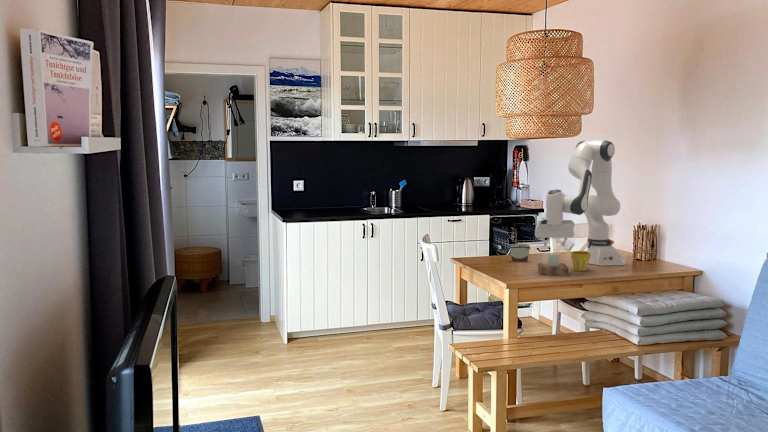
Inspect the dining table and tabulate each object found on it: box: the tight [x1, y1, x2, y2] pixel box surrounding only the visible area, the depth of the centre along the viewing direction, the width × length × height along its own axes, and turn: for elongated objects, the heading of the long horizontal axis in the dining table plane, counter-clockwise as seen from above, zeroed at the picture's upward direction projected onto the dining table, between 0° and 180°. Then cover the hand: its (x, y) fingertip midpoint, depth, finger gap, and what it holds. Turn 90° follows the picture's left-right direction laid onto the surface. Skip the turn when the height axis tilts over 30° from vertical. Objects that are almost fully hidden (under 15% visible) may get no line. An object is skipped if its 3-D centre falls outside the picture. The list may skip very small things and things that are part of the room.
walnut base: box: [537, 262, 569, 277], centre depth 350 cm, size 14×14×4 cm
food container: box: [508, 243, 531, 263], centre depth 382 cm, size 12×6×10 cm, turn 84°
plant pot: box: [570, 250, 590, 272], centre depth 357 cm, size 10×10×10 cm
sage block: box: [547, 253, 560, 266], centre depth 349 cm, size 5×5×6 cm
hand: (554, 245), depth 349 cm, fingers open, 8 cm apart
